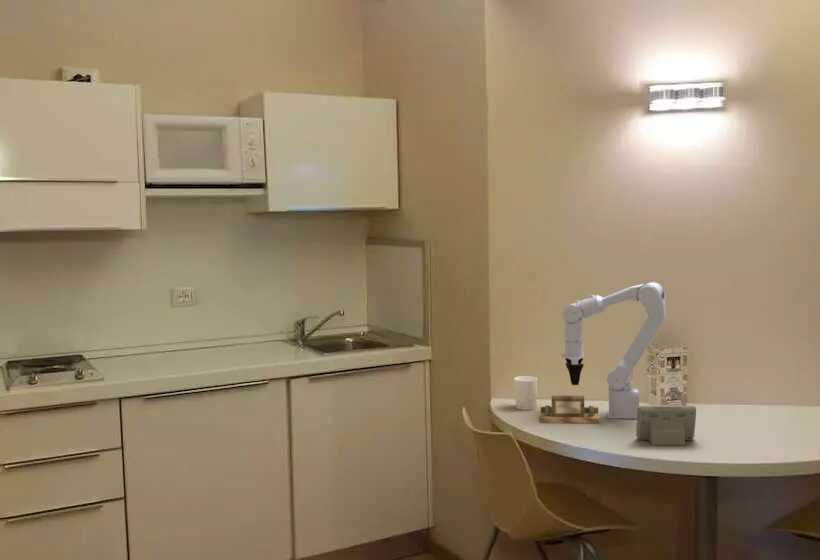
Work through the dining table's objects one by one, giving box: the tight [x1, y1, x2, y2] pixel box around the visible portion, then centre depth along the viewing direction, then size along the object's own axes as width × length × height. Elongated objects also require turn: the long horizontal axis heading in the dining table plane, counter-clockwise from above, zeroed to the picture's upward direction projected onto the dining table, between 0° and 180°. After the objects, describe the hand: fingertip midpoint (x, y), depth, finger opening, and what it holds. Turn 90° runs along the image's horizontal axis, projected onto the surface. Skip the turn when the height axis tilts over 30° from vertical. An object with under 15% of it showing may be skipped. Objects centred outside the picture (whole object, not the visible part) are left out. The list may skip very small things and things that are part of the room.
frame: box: [551, 395, 585, 417], centre depth 250 cm, size 10×3×6 cm, turn 80°
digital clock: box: [635, 405, 697, 446], centre depth 225 cm, size 16×9×11 cm, turn 70°
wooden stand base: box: [539, 405, 600, 424], centre depth 251 cm, size 18×7×4 cm, turn 80°
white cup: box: [513, 375, 538, 411], centre depth 267 cm, size 8×8×10 cm
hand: (574, 382), depth 259 cm, fingers open, 7 cm apart
